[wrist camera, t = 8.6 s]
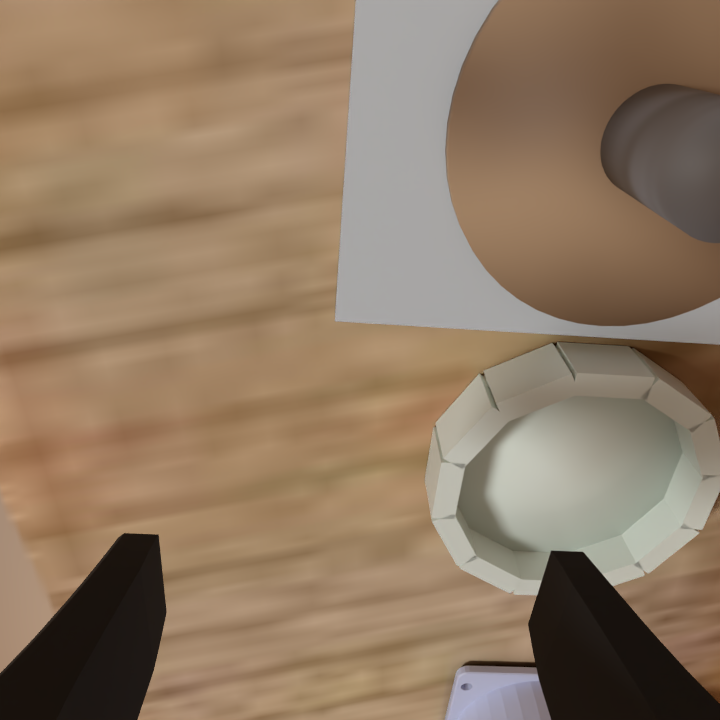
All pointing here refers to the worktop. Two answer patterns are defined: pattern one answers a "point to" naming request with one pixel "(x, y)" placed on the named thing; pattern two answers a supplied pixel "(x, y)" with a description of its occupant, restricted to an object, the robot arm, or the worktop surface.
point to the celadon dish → (571, 465)
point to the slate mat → (431, 189)
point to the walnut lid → (592, 156)
